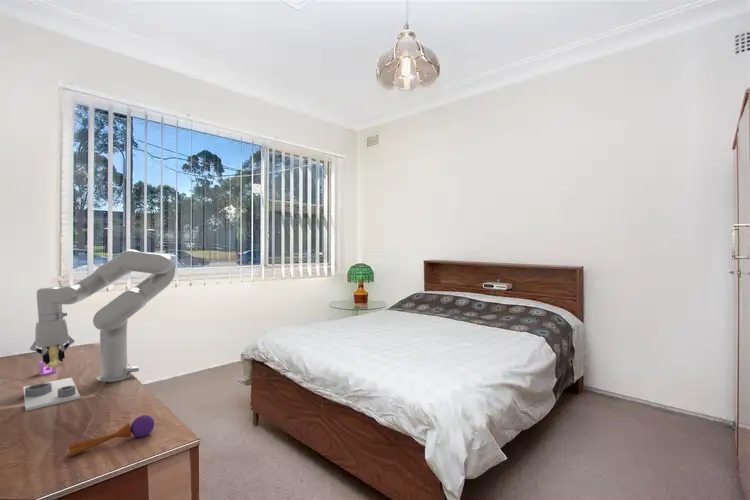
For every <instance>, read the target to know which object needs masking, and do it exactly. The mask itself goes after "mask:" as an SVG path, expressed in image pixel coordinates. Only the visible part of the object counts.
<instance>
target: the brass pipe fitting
mask: <svg viewBox="0 0 750 500" xmlns="http://www.w3.org/2000/svg"><path fill="white" fill-rule="evenodd" d="M46 353H47V355H48V364H47V366H48V368H53V367H56V368H57V367H60V366H61V365H62V361H60V346H59V345H52V346H49V347H47V349H46Z"/></svg>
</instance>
